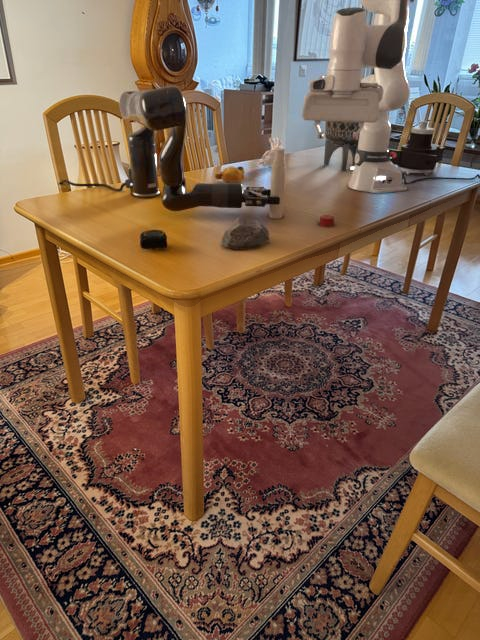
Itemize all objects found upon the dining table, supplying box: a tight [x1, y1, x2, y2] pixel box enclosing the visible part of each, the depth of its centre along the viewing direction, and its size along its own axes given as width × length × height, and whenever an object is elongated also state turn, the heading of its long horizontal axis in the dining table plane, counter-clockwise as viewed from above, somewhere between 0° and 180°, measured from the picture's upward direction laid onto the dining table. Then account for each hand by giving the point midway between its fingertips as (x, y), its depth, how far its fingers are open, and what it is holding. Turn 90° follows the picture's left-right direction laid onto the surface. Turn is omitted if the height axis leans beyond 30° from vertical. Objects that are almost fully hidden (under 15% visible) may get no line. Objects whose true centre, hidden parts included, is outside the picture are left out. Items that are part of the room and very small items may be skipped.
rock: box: [221, 216, 270, 250], centre depth 119 cm, size 13×9×6 cm, turn 131°
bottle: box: [268, 147, 286, 219], centre depth 138 cm, size 4×4×20 cm
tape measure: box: [139, 229, 168, 250], centre depth 117 cm, size 7×7×4 cm
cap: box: [319, 214, 335, 228], centre depth 137 cm, size 4×4×2 cm
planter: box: [323, 121, 360, 172], centre depth 204 cm, size 20×20×26 cm
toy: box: [214, 165, 246, 183], centre depth 181 cm, size 11×6×15 cm
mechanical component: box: [388, 120, 446, 176], centre depth 202 cm, size 22×21×30 cm
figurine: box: [258, 136, 283, 169], centre depth 203 cm, size 8×15×13 cm, turn 146°
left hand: (279, 196), depth 141 cm, fingers open, 8 cm apart
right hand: (337, 139), depth 125 cm, fingers open, 8 cm apart
